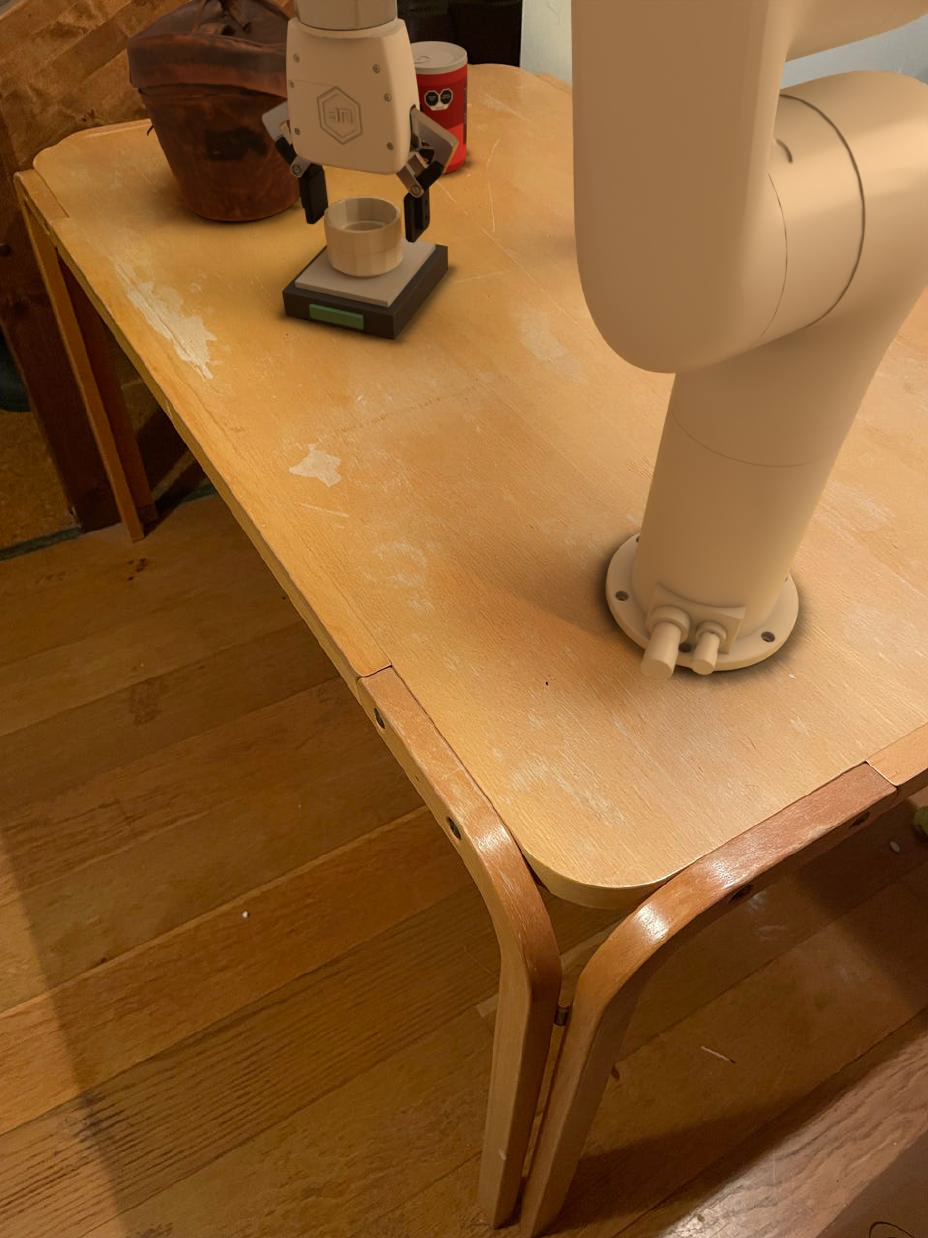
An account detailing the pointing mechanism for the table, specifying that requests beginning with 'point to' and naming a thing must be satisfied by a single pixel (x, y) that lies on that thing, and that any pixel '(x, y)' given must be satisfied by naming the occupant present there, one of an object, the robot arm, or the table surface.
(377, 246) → the small cup
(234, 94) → the brown flower pot
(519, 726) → the table surface
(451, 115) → the canned food
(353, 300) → the scale
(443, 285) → the table surface
